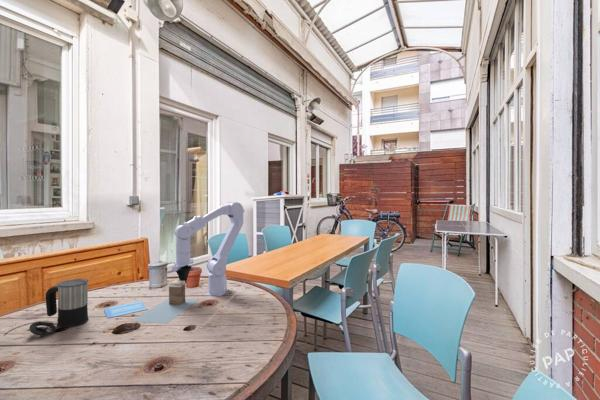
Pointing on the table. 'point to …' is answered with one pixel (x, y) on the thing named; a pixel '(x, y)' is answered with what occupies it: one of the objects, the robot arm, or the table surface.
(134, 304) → the blue streaked flat panel
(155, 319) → the light blue mat
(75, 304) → the milk frother
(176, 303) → the walnut block
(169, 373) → the table surface
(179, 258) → the robot arm
